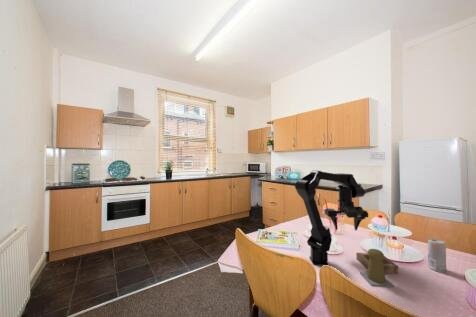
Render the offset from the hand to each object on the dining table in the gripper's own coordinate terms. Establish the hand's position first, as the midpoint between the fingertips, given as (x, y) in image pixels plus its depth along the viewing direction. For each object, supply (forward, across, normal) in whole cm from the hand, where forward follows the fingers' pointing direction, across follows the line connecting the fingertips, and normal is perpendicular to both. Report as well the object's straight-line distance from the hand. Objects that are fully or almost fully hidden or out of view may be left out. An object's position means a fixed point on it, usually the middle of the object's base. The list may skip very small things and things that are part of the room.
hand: (346, 230), depth 96 cm
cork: (+12, +2, -20) cm, 24 cm away
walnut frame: (+12, +8, -10) cm, 18 cm away
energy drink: (+12, +32, -11) cm, 36 cm away
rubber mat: (+12, +2, -20) cm, 24 cm away
